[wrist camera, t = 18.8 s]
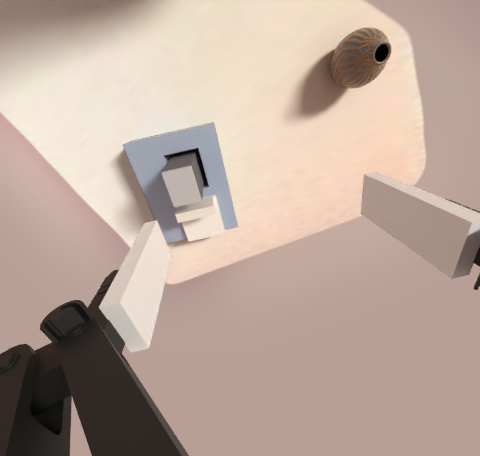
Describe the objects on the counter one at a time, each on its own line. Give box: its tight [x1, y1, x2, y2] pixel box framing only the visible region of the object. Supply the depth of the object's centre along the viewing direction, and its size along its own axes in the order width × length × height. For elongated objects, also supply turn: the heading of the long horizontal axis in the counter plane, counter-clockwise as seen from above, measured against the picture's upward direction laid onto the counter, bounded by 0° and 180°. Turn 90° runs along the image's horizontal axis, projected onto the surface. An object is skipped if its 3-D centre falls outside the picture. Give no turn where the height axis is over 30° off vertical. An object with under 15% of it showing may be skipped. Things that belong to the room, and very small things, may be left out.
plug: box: [162, 150, 204, 207], centre depth 35 cm, size 5×4×12 cm
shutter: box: [175, 194, 226, 242], centre depth 39 cm, size 8×7×5 cm
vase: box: [331, 28, 391, 88], centre depth 32 cm, size 7×7×9 cm
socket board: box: [123, 122, 238, 243], centre depth 40 cm, size 18×14×4 cm
